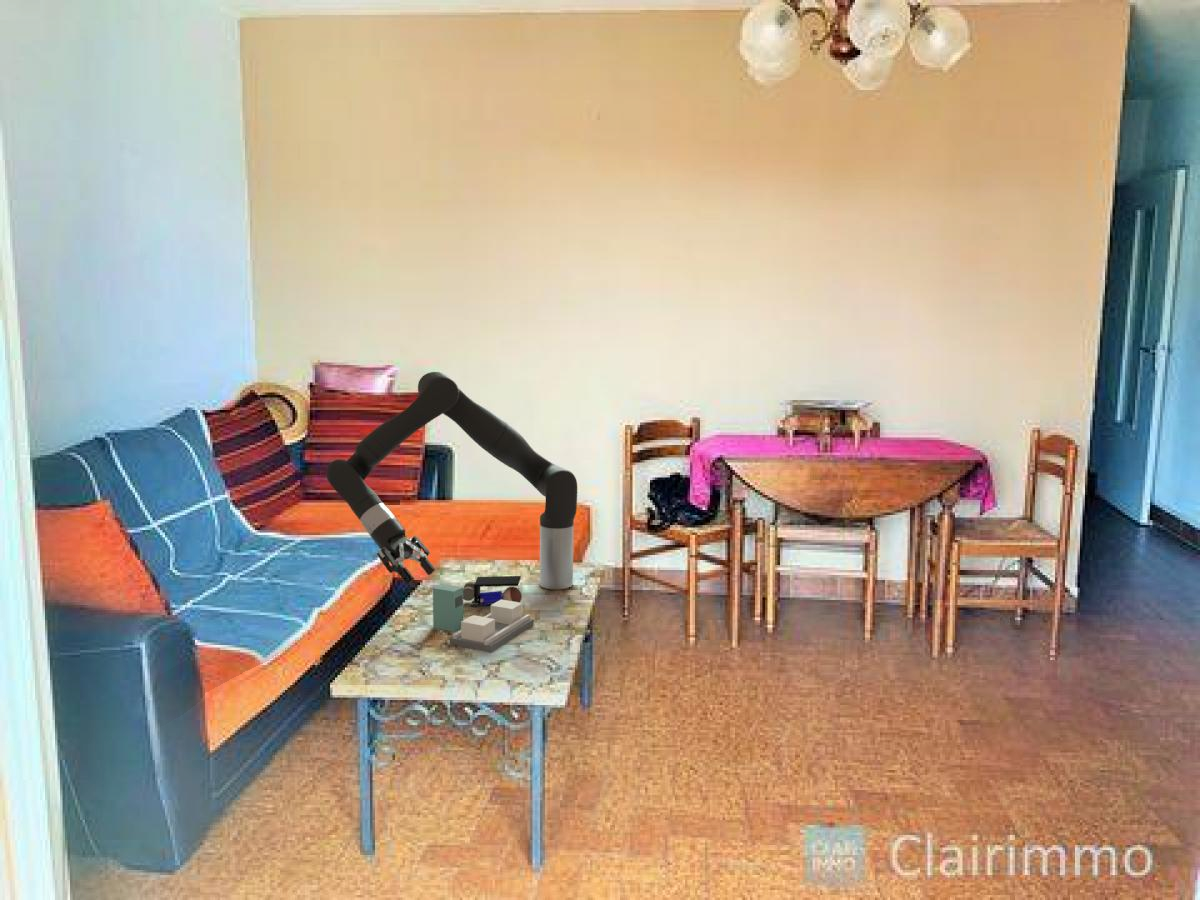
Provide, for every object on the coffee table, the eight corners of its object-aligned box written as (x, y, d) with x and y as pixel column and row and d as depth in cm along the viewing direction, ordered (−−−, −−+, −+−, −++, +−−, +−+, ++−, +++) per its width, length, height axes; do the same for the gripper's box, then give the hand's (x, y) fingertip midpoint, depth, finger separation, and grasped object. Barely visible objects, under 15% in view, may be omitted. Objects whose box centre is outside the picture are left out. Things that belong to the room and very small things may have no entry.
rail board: (494, 618, 237) (494, 608, 236) (533, 625, 232) (533, 615, 232) (449, 644, 219) (449, 633, 219) (490, 652, 214) (490, 641, 214)
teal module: (442, 622, 233) (442, 583, 231) (464, 626, 230) (463, 587, 229) (433, 627, 229) (432, 588, 228) (454, 632, 227) (454, 591, 225)
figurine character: (462, 614, 244) (521, 609, 243) (458, 585, 243) (517, 580, 242) (466, 605, 250) (523, 600, 250) (463, 577, 249) (520, 572, 249)
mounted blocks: (501, 614, 235) (501, 599, 234) (522, 618, 232) (522, 603, 232) (461, 638, 219) (461, 621, 218) (483, 642, 216) (483, 625, 215)
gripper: (372, 522, 226) (413, 575, 223) (408, 510, 239) (447, 560, 236) (355, 541, 229) (395, 594, 226) (391, 528, 242) (430, 578, 239)
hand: (421, 577), depth 231 cm, fingers open, 8 cm apart
